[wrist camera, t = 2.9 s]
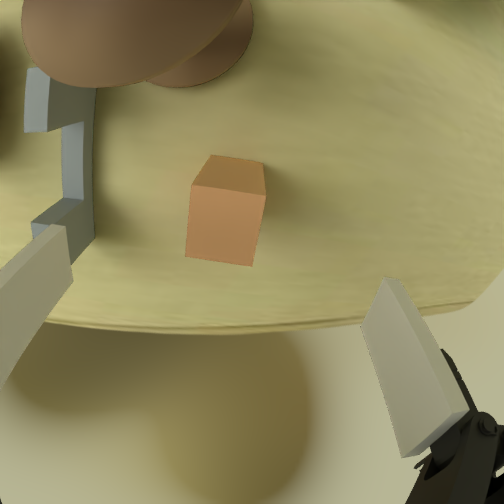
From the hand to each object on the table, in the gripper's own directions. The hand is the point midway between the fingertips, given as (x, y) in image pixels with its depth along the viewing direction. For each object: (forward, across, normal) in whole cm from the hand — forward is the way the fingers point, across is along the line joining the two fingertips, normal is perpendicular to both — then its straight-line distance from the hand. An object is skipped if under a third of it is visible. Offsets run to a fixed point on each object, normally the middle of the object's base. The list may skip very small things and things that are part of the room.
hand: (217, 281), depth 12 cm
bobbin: (+11, -5, +11) cm, 17 cm away
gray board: (+11, -12, +1) cm, 17 cm away
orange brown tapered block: (+11, 0, 0) cm, 11 cm away
